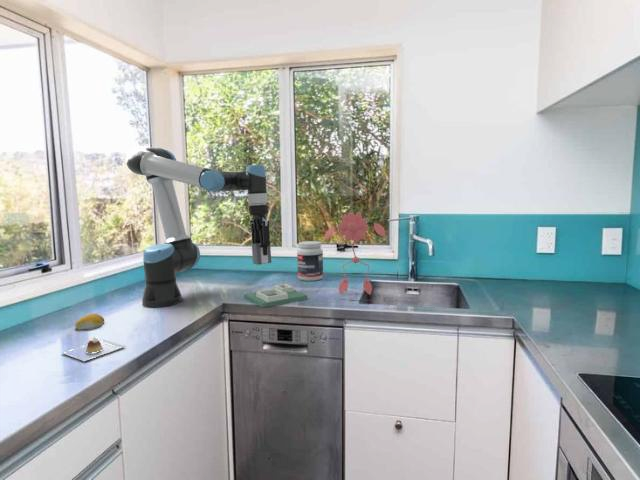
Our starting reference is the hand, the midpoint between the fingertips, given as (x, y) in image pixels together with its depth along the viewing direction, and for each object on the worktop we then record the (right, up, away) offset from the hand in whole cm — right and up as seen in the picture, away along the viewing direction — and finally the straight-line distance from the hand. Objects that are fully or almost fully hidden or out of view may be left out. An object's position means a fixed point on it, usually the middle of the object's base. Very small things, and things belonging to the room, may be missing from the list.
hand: (262, 262), depth 166 cm
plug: (0, 0, 0) cm, 0 cm away
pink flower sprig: (+38, -15, +5) cm, 41 cm away
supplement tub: (+19, -11, +40) cm, 45 cm away
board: (+5, -15, +4) cm, 17 cm away
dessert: (-41, -24, -48) cm, 68 cm away
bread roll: (-55, -21, -25) cm, 64 cm away
